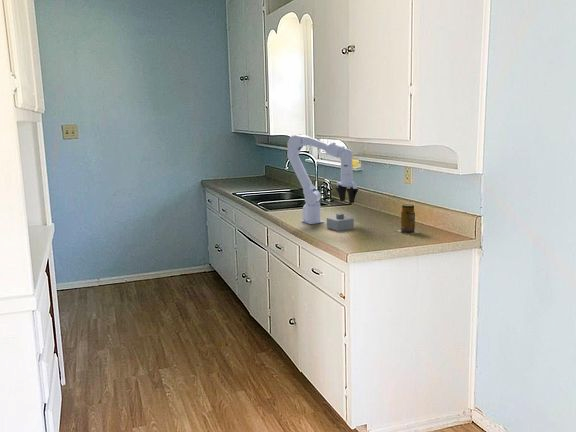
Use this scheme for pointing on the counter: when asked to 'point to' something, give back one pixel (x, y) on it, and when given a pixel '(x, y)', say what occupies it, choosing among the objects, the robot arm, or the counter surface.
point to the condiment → (408, 219)
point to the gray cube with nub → (340, 222)
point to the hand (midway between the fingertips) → (347, 202)
